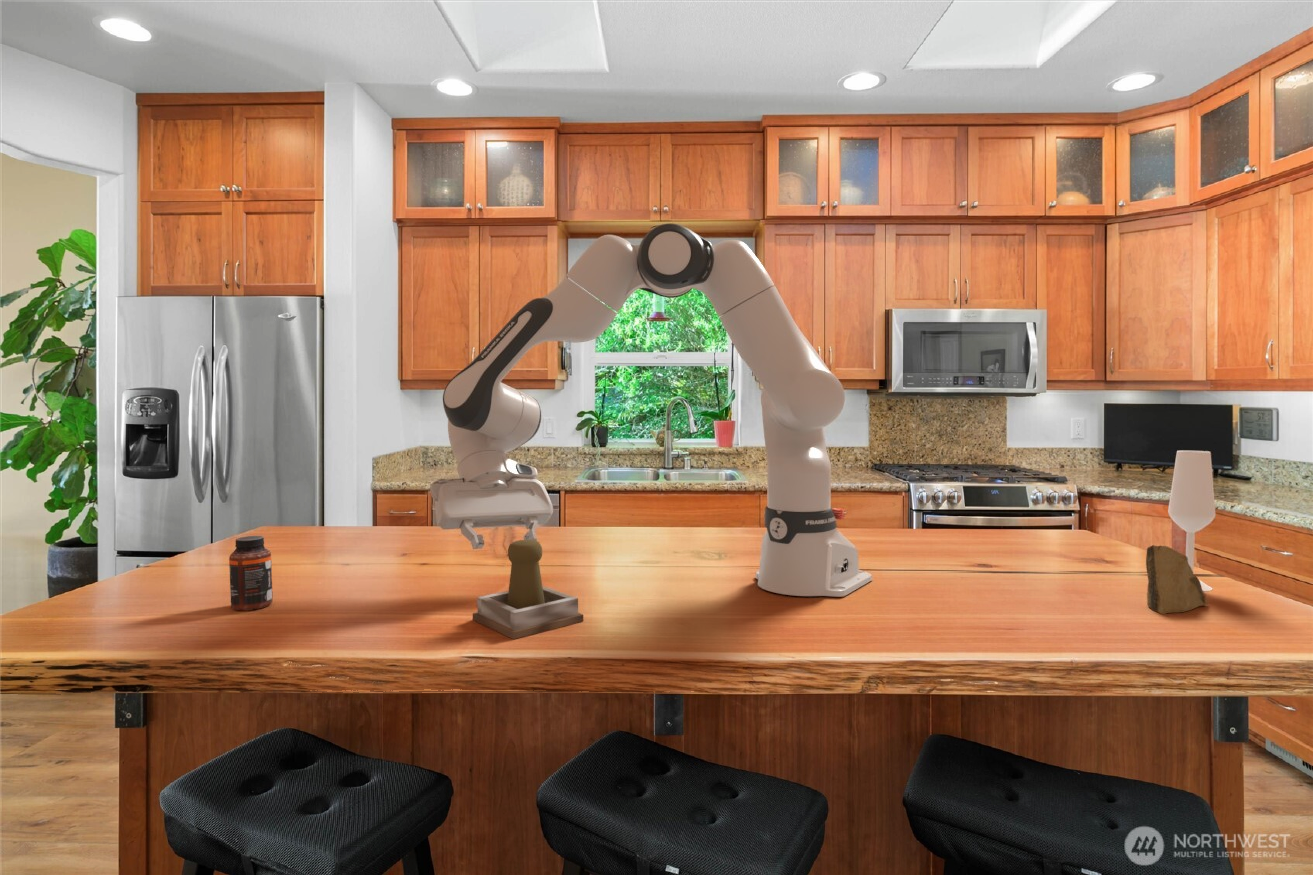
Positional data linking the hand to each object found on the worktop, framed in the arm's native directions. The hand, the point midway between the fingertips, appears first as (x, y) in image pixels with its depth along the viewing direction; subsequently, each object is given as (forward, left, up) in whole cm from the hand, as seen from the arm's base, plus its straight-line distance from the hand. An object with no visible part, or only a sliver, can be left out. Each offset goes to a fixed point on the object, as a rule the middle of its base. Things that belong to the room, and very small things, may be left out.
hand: (505, 545), depth 118 cm
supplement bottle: (+32, -25, -10) cm, 42 cm away
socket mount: (+3, +12, -9) cm, 16 cm away
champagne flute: (-94, +75, -9) cm, 120 cm away
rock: (-77, +77, -10) cm, 109 cm away
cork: (+3, +11, -8) cm, 14 cm away
